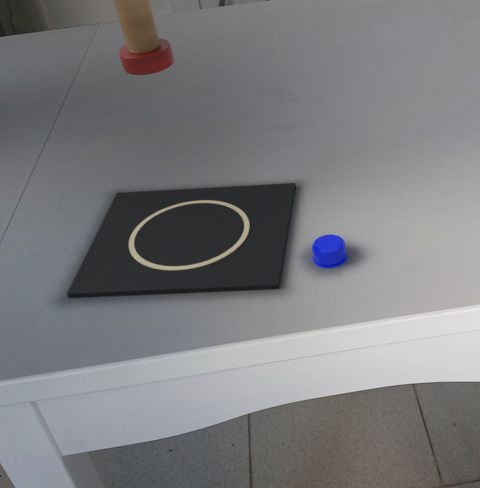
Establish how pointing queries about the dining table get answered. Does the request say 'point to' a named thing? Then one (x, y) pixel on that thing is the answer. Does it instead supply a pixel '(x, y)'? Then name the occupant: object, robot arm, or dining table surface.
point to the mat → (189, 242)
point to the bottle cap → (329, 251)
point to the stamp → (141, 39)
